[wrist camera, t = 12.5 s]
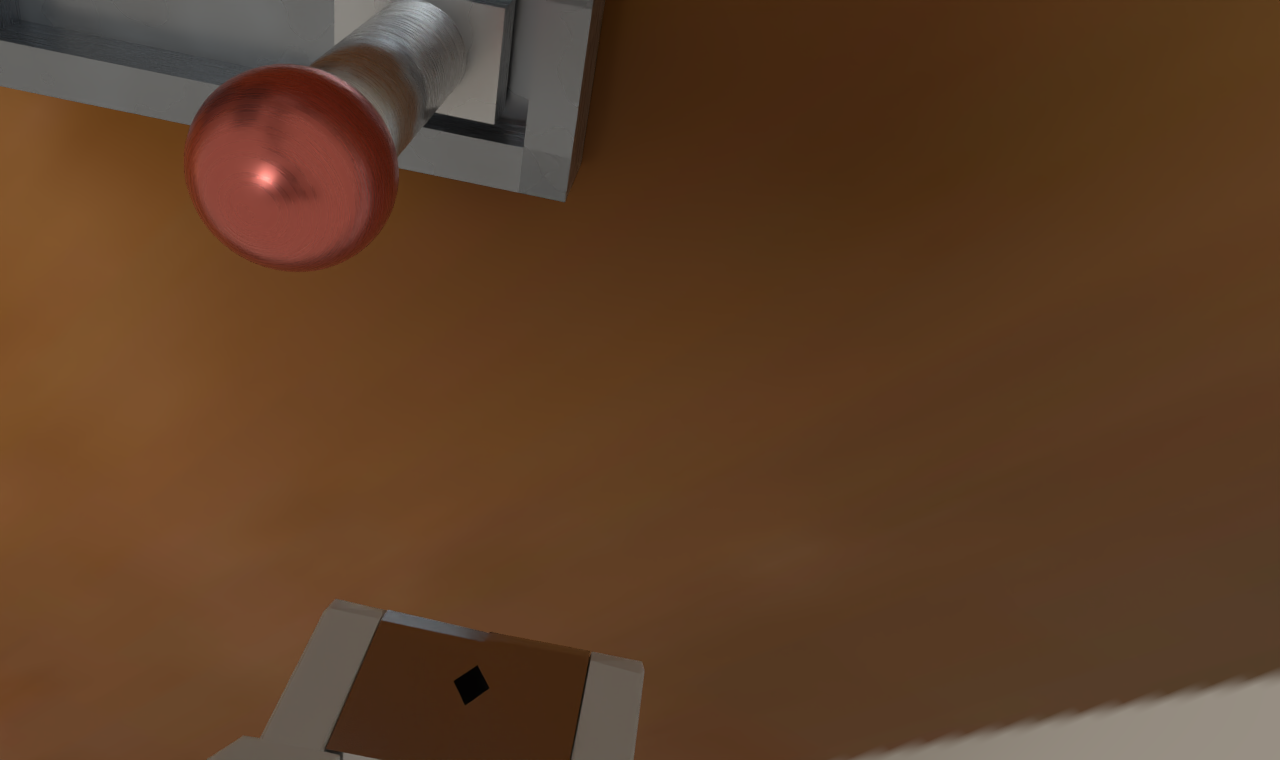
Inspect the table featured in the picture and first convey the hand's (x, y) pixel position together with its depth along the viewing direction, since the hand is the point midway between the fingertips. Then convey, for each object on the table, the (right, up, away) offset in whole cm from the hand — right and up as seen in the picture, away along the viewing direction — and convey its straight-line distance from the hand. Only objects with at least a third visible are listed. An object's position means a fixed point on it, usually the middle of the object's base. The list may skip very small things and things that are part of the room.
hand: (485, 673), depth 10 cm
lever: (-4, +11, +16) cm, 20 cm away
